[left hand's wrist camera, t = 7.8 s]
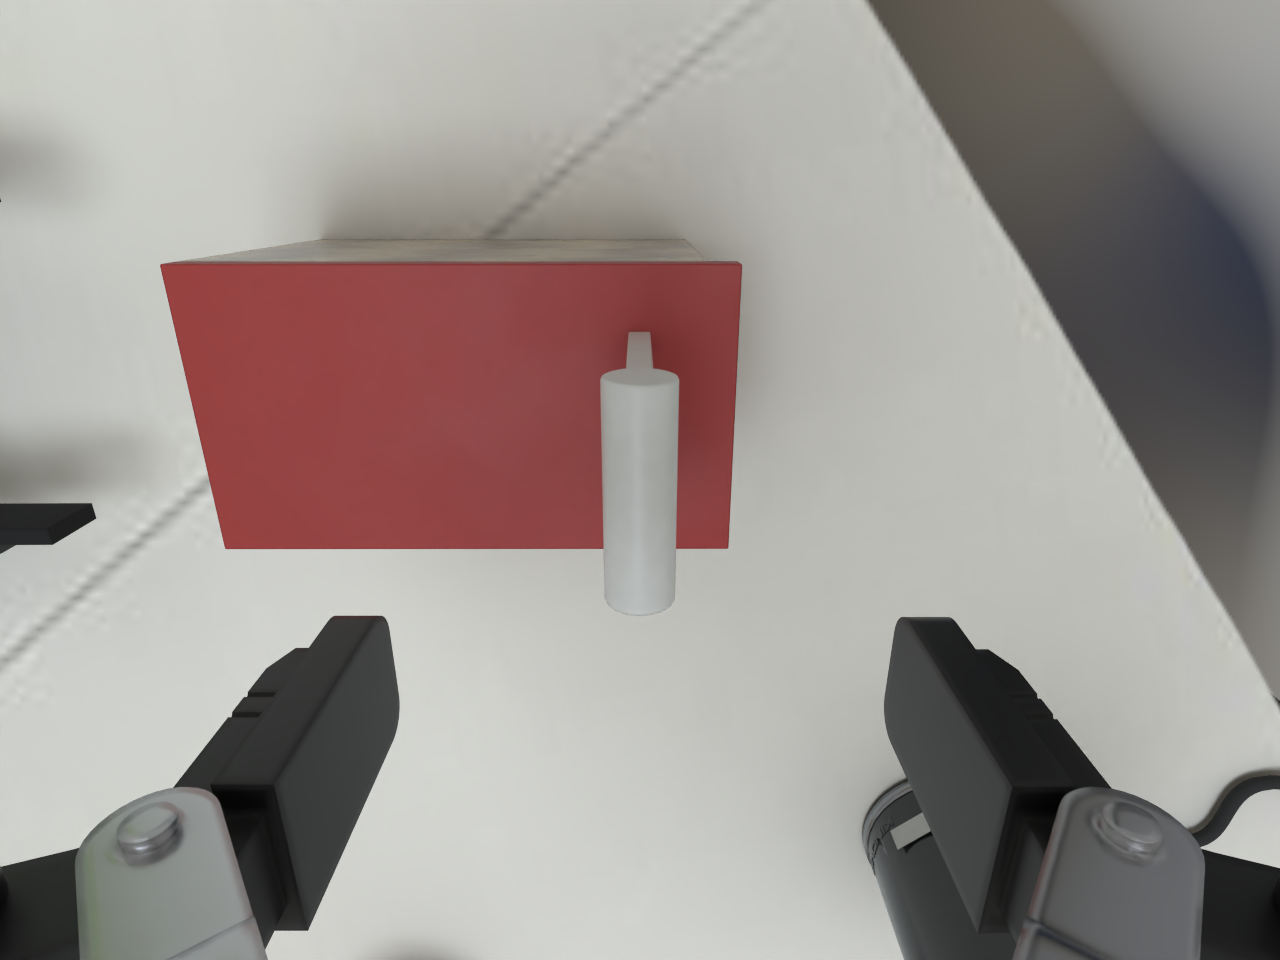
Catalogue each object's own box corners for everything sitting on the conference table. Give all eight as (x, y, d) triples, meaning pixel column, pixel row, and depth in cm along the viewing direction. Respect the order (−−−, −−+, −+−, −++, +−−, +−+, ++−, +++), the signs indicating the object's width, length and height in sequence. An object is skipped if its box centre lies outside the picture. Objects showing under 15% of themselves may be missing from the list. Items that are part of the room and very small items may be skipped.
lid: (738, 261, 24) (789, 297, 16) (725, 537, 27) (761, 680, 19) (176, 261, 24) (-58, 297, 16) (238, 538, 27) (72, 681, 19)
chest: (686, 239, 34) (707, 260, 24) (682, 441, 38) (698, 537, 27) (318, 239, 34) (177, 261, 24) (349, 441, 38) (238, 537, 27)
